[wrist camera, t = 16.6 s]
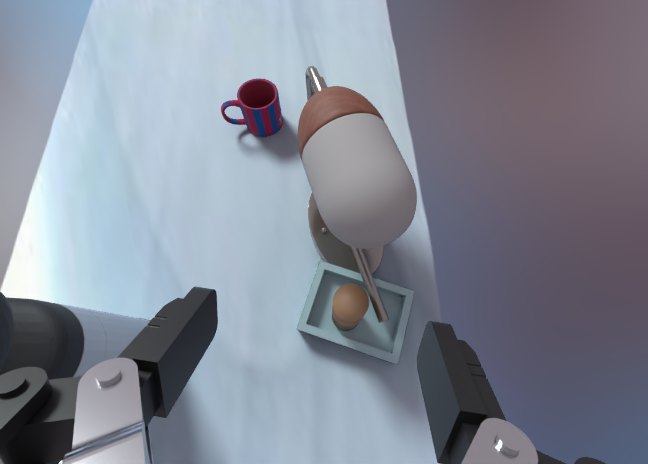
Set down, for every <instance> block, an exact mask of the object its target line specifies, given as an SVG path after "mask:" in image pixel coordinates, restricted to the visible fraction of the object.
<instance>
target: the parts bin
mask: <svg viewBox="0 0 648 464" xmlns="http://www.w3.org/2000/svg"><path fill="white" fill-rule="evenodd" d="M374 281H375V284H376V286H377V289H378V291H379V294H380V297H381V299H382V302H383V304H384V307H385V310H386V312H387V315H388V317H389V320H387V321H385V322H382V323H379V322H378V319H377V317H376V314H375V311H374V309H373V306H372V303H371V301H370V298H369V295H368V293H367V290H366V287H365V285H364V282H363V279H362V276H361V274H360V273H357V272H354V271H351V270H348V269H345V268H342V267H339V266H335V265H332V264H329V263H326V262H323V261H320V262H319V265H318V268H317V271H316V274H315V277H314V280H313V283H312V285H311V288H310V291H309V294H308V297H307V300H306V303H305V306H304V309H303V311H302V314H301V317H300V320H299V323H298V326H297V330H299V331H302V332H305V333H308V334H310V335H313V336H316V337H319V338H322V339H325V340H328V341H330V342H333V343H336V344H339V345H342V346H345V347H348V348H350V349H353V350H356V351H359V352H362V353H365V354H368V355H370V356H373V357H376V358H379V359H382V360H385V361H388V362H390V363H394V364H398V362H399V357H400V353H401V348H402V344H403V340H404V335H405V331H406V326H407V322H408V318H409V313H410V309H411V304H412V300H413V296H414V291H413V290H410V289H407V288H404V287H401V286H398V285H395V284H391V283H388V282H385V281H382V280H379V279H376V278H374ZM345 284H356V285H358V286H360V287H362V288H363V289H364V290H365V292H366V293H367V295H368V298H369V307H368V310H367V312H366V314H365V315H364V316H363V318H362V319H361V321H360V322H359V323H358V325H357V326H356V327H355V328H354V329H352V330H349V331H343V330H340V329H339V328H337V327H336V326H335V325H334V323H333V320H332V305H333V297H334V294H335V292H336V291H337V289H338V288H339V287H341V286H343V285H345Z"/></svg>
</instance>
